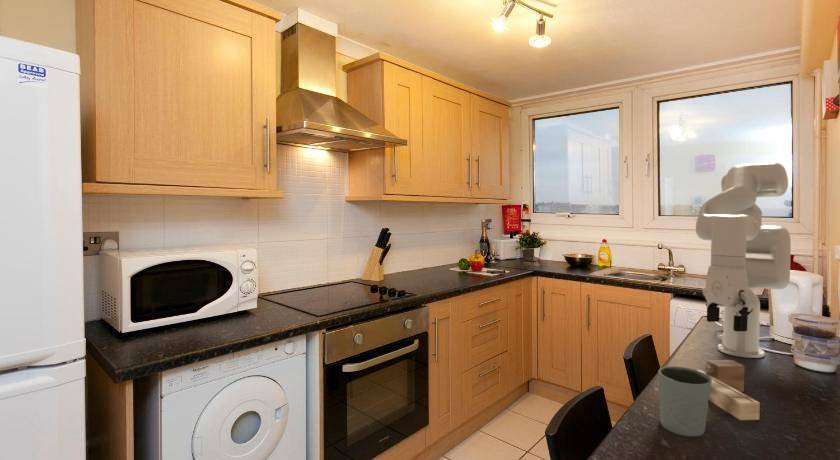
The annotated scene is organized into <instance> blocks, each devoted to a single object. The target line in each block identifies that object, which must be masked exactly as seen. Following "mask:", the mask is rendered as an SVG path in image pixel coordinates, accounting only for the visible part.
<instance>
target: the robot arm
mask: <svg viewBox="0 0 840 460" xmlns="http://www.w3.org/2000/svg"><path fill="white" fill-rule="evenodd" d="M720 185H721V191H722V192H720V193H718V194H716V195H714V196H713V197H711V198H709V199H708V200H706V201H705V202H704V203H702V205H701V207H700V209H699V212H698V214H697V219H696V223H695V232H696V233H695V234H696V235H697V237H698V238H699V239H700V240H703V241H710V243H711V244H710V265H709V266H708V269H707V274H706V279H705V287H704V288H702V289H701V290H702V295H703V300H704V302H705V306H706V321H707V322H709V323H716V322H717V323H719V321H720V307H719V305H720V306H723V332H722V333H721V334H718V335H717V339H719V340H721V343H718V345H717V350H719V352H722V354H723V353H724V354H727V355H730V356H734V357H739V358H746V359H760V358H764V357H765V353H766V352H765V351H764V349H761V348H760V347H759V345H760V321H761V320H760V318H761V317H760V316H761V315H760V313H761V302H760V298H759V296H758V295H757V294H755V292H754V291H753V290H752V288H753V289H755V288H756V289H757V288H758V289H768V290H784V289H786V288H788V286H789V283H790V280H791V278H790V277H791V250H792V249H791V248H792V243H791V242H792V241H791V235H790V231H789V230H788V229H787V228H786V227H784V226H779V225H763V224H762V219H763V217H762V216H763V211H762V210H761V208H760V207H759V206H758V205H757V203H756V202H757V198H764V197H765V198H771V197H772V198H773V197H775V198H776V197H782V196H783V195H784V194H786V192H787V189H788V186H789V177H788V173H787V169H786V168H785V167H784V165H782V164H780V163H779V162H775V161H773V162H770V161H769V162H758V163H757V162H755V163H742V164H741V163H740V164H737V165H734V166H732V167H730V169H729V170H728V171H727V173H726V174H725V175H723V176H722V178H721V184H720ZM746 255H757V256H758V255H759V256H769V257H771V258H757V257H746Z"/></svg>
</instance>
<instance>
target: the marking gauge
mask: <svg viewBox="0 0 840 460" xmlns="http://www.w3.org/2000/svg"><path fill="white" fill-rule="evenodd" d="M705 371H706V373H707V374H708V375H710V376H712V377H714V378H716V379H718V380H719V381H721V382H723V383H725V384H727V385H729V386H730V387H732V388H734V389H736V390H738V391H740V392H741V393H743V392H745V371H746V366H745V365H743V364H742V363H740V362H737V361H735V360H733V359H713V360H712V359H710V360H706V366H705Z"/></svg>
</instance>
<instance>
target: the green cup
mask: <svg viewBox="0 0 840 460" xmlns="http://www.w3.org/2000/svg"><path fill="white" fill-rule="evenodd" d="M697 370H698V369H694V368H693V369H692V368H689V367H684V366H677V365H675V366H674V365H671V366H668V365H667V366H662V367H660V368H659V369H658V384H659V387H658V388H659V389H658V393H659V397H658V398H659V405H660V406H659V421H660V425H661V426H662V427H663V428H664V429H665V430H667V431H669V432H671V433H673V434H677V435H680V436H684V437H700V436H703V435H704V434H705V432H706V425H707V415H708V409H709V400H708V399H709V394H710V388H711V382H712V380H711V378H710V377H709V376H708V375H706V374H704V373H702V372H700V371H697Z"/></svg>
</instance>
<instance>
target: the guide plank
mask: <svg viewBox="0 0 840 460" xmlns="http://www.w3.org/2000/svg"><path fill="white" fill-rule="evenodd" d="M696 370H697V371H700V372H702V373H704V374H706V375H708V374H707V372H704V371H703V370H700V369H696ZM708 376H709V377H710V378H711V380H712V382H711V388H710V394H709V399H708V402H711V404H714V405H715V406H717V407H718V408H720V409H722V410H723V411H725V412H727V413H728V414H730V415H732V416H733V417H734V418H736V419H738V420H739V421H757V420H759V421H760V412H761V411H760V409H761V408H760V407H761V406H760V405H761V403H760V401H758V400H756V399H755V398H752V397H750V396H749V395H747V394H745V393H743V392H740V391H738V390H736V389H734V388H732V387H730V386H729V385H727V384H725V383H723V382H721V381H719V380H718V379H716V378H714V377H712V376H710V375H708Z"/></svg>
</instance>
